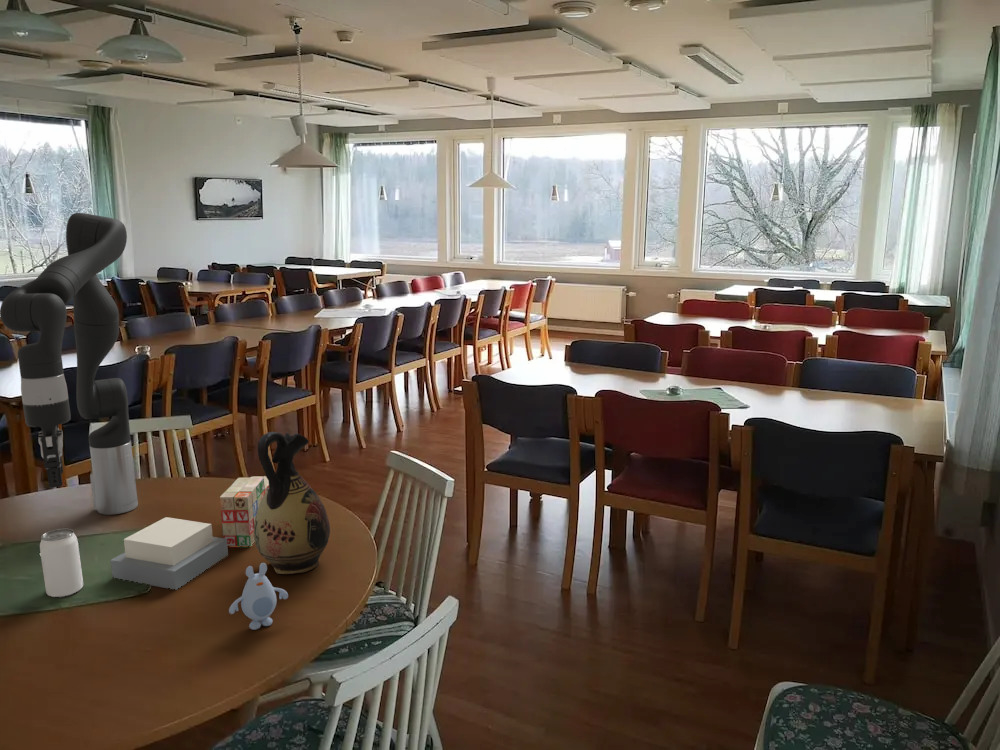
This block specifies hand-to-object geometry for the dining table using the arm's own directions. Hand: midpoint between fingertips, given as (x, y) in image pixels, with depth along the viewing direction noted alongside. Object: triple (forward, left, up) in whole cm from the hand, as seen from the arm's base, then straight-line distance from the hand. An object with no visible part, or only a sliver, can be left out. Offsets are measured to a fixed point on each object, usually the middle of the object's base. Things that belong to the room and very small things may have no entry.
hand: (56, 480), depth 149 cm
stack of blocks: (+17, +36, -23) cm, 46 cm away
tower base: (+13, +14, -23) cm, 29 cm away
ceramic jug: (+37, +22, -23) cm, 48 cm away
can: (0, -1, -23) cm, 23 cm away
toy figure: (+45, 0, -23) cm, 50 cm away
